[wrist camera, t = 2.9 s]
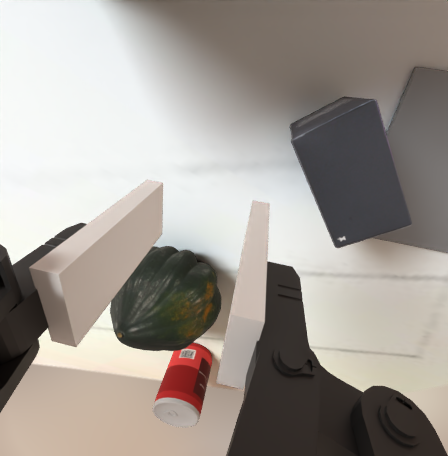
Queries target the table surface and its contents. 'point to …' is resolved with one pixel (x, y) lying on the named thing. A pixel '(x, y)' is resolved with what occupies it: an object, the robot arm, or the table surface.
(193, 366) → the canned food
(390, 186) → the small box
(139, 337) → the squash
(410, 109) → the mat
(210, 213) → the table surface
